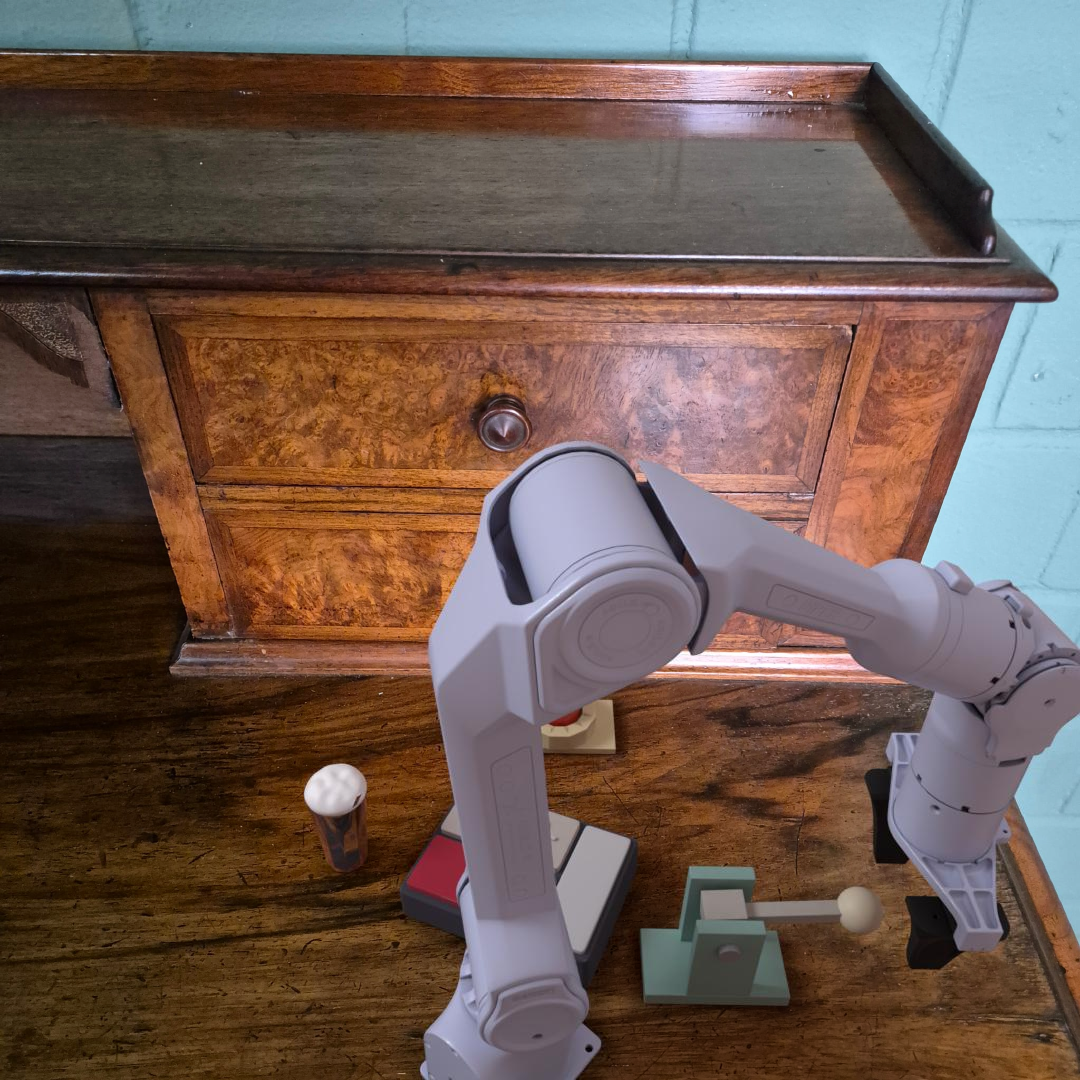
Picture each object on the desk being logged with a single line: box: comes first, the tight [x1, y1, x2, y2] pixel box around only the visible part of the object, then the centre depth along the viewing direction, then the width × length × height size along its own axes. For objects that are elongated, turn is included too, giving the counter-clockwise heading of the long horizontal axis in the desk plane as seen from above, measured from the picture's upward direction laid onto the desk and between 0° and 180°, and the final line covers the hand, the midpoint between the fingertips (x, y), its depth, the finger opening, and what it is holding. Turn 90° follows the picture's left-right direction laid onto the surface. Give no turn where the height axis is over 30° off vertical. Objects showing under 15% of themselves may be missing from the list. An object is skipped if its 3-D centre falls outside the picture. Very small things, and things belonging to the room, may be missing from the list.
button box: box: [541, 699, 617, 755], centre depth 86 cm, size 6×10×2 cm, turn 89°
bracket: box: [638, 865, 791, 1007], centre depth 65 cm, size 10×6×9 cm, turn 89°
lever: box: [700, 886, 884, 936], centre depth 63 cm, size 12×3×3 cm, turn 89°
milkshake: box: [303, 763, 369, 874], centre depth 72 cm, size 4×5×10 cm
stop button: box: [548, 709, 579, 727], centre depth 85 cm, size 4×4×2 cm
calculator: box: [398, 800, 639, 990], centre depth 72 cm, size 11×4×15 cm
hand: (905, 909), depth 63 cm, fingers open, 7 cm apart
